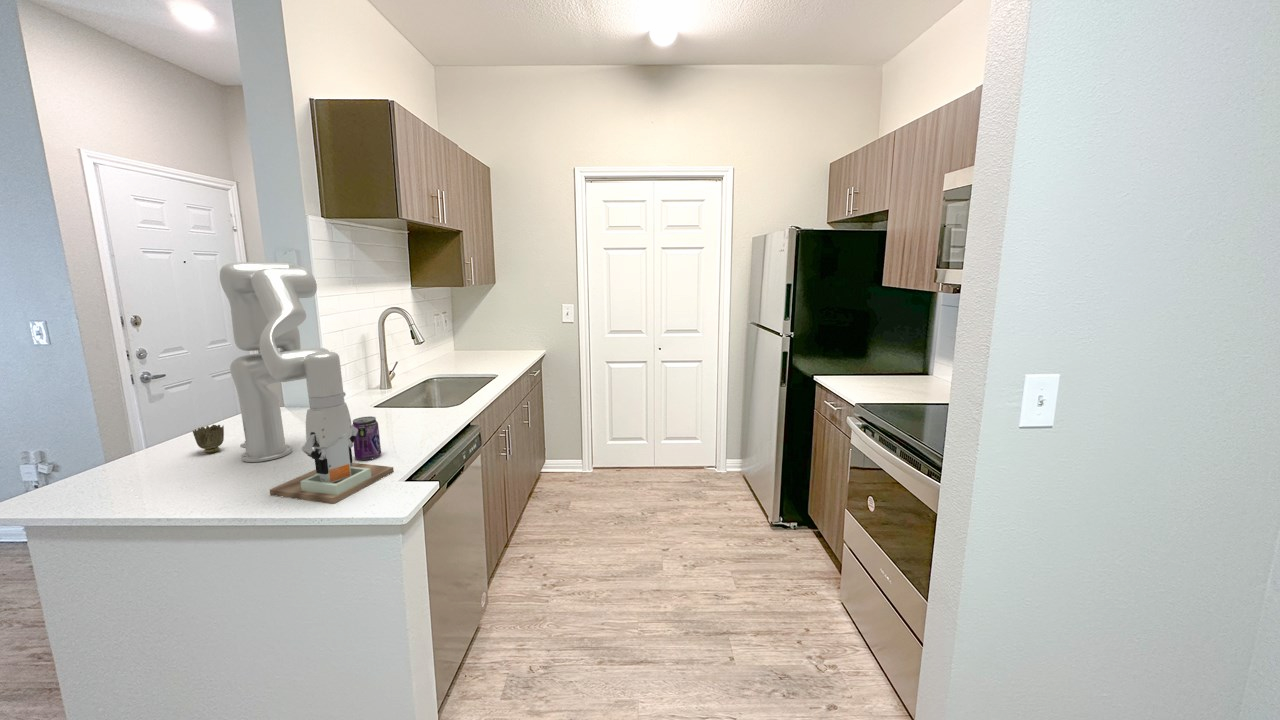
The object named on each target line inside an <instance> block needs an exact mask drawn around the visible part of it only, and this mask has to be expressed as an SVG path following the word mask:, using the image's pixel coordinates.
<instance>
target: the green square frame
mask: <svg viewBox="0 0 1280 720" xmlns="http://www.w3.org/2000/svg"><path fill="white" fill-rule="evenodd" d="M369 478H371V470H370V469H369V468H360V467H351V476H350V477H348V478H346V479H344V480H342V481H340V482H338V483H336V484H335V483H327V482H321V481H320V475H319V474H315V475H313V476H311V477H309V478H307V479H304V480H302V481H300V483H301V490H302V491H308V492H316V493H324V494H332V495H339V494H340V493H342V492H344V491H346V490H348V489H350V488H352V487H354V486H356V485H358V484H360V483H362V482H364V481H365V480H367V479H369Z"/></svg>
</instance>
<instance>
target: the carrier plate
mask: <svg viewBox="0 0 1280 720" xmlns="http://www.w3.org/2000/svg"><path fill="white" fill-rule="evenodd" d="M352 464H353V466H351V467H360V468H369V469H370V470H371V478H369V479H367V480H365V481H364V482H362V483H360V484H358V485H356V486H354V487H352V488H350V489H348V490H346V491H344V492H342V493H340V494H339V495H332V494H324V493H316V492H308V491H302V490H301V483H300V481H302V480H304V479H307V478H309V477H311V476H313V475H315V474H318V473H317V472H316V469H314V470H311V471H310V472H306V473H304V474H302V475H300V476H298V477H296V478H293V479H291V480H288V481H287V482H284V483H282V484H279V485H277V486H275V487H273V488H270V489H269V495H270V496H272V495H277V496H276V497H279V496H283V497H282V498H287V497H291V498H290V499H294V498H297V499H296V500H302V499H303V500H304V501H310V500H311V502H319V503H325V504H326V503H327V504H333V505H335V504H337V503H338V502H342V501H343V500H344V499H346V498H348V497H350V496H353V494H355V493H357V492H359V491H361V490H363V489H365V488H367V487H368V486H371V485H372V484H374V483H376V482H378V481H380V480H382V479H384V478H385V477H388V476H389V475H391V474H392V472H393V473H394V470H395V469H394V466H386V465H380V464H378V465H376V464H370V463H359V462H352ZM390 473H391V474H390ZM388 474H389V475H388ZM383 477H384V478H383ZM381 478H382V479H381ZM379 479H380V480H379ZM343 480H344V479H343ZM340 481H342V480H340ZM340 481H337V482H334V483H335V484H336V483H338V482H340Z"/></svg>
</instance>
